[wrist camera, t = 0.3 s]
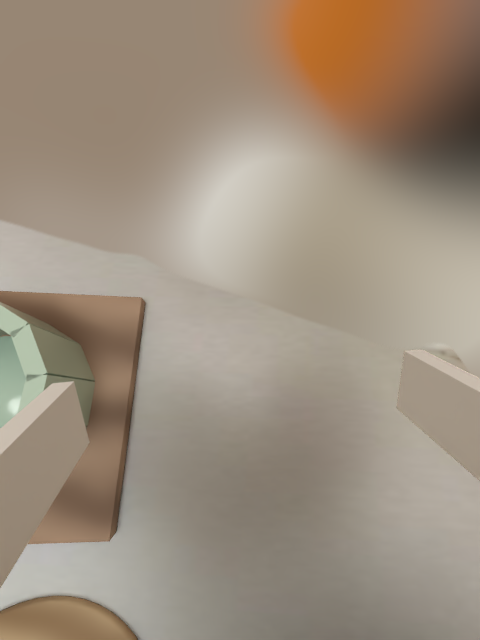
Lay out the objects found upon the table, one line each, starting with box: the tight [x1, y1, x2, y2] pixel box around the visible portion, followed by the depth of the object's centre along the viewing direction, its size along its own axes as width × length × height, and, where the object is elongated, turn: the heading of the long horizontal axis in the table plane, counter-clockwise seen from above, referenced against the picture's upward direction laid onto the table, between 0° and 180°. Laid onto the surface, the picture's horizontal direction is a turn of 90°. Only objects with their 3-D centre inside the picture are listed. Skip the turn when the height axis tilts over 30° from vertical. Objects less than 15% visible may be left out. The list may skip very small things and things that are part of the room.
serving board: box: [0, 291, 145, 544], centre depth 23 cm, size 20×20×2 cm
